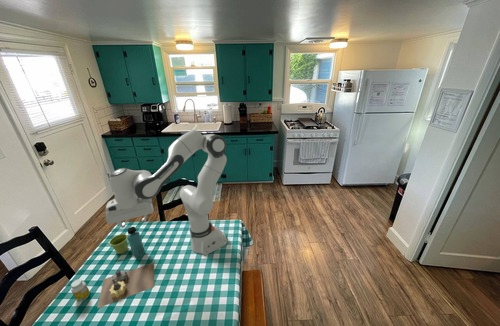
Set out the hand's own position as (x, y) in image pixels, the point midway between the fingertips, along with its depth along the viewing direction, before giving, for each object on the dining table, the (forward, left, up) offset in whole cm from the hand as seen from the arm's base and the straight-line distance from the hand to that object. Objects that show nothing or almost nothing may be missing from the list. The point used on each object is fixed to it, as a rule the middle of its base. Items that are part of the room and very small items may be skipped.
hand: (134, 224), depth 103 cm
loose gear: (+12, +12, -28) cm, 32 cm away
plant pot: (+14, -19, -29) cm, 38 cm away
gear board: (+8, +9, -29) cm, 31 cm away
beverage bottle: (+4, -10, -29) cm, 31 cm away
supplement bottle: (+28, +6, -29) cm, 41 cm away
